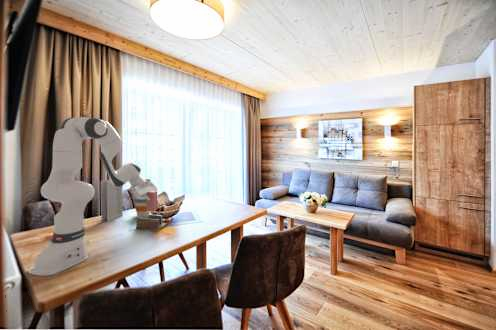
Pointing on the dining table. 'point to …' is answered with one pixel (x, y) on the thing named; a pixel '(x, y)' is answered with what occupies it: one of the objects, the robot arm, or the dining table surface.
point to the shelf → (149, 224)
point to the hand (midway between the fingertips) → (152, 198)
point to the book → (151, 201)
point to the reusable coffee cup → (141, 207)
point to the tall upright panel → (111, 201)
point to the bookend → (156, 217)
